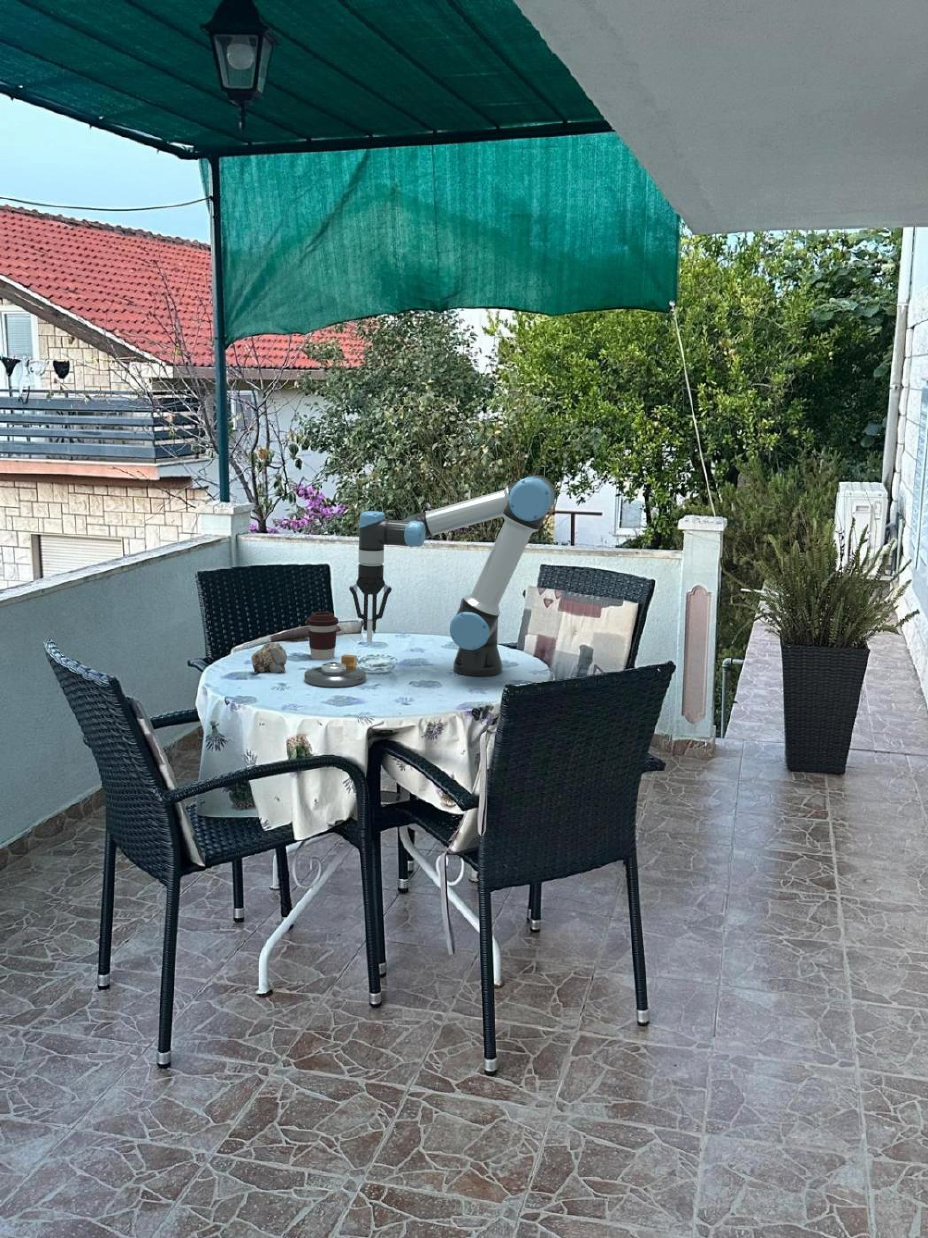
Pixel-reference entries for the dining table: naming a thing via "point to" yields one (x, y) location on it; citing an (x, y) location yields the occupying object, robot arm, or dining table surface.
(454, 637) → the robot arm
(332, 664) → the cover
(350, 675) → the turntable
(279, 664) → the rock
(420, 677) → the dining table surface
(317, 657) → the coffee cup
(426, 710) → the dining table surface
